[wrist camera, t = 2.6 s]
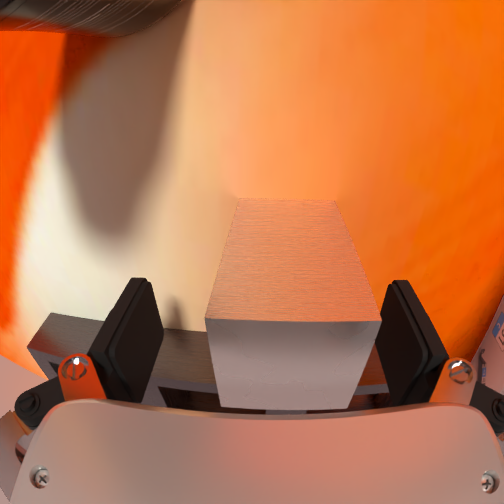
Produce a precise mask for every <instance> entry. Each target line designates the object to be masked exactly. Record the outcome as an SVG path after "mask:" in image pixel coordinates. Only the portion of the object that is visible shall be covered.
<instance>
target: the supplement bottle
mask: <svg viewBox="0 0 504 504" xmlns="http://www.w3.org/2000/svg"><path fill="white" fill-rule="evenodd" d="M180 1H181V0H0V31H40V32H55V33H67V34H76V35H84V36H93V37H103V38H113V37H120V36H125V35H129V34H132V33H135V32H138V31H140V30H142V29H145V28H147V27H149V26H150V25H152V24H154V23H155V22H157V21H159V20H160V19H161V18H163V17H164V16H165V15H167V14H168V13H169V12H170V11H171V10H172V9H174V8H175V7H176V6H177V5H178V3H179V2H180Z"/></svg>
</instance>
